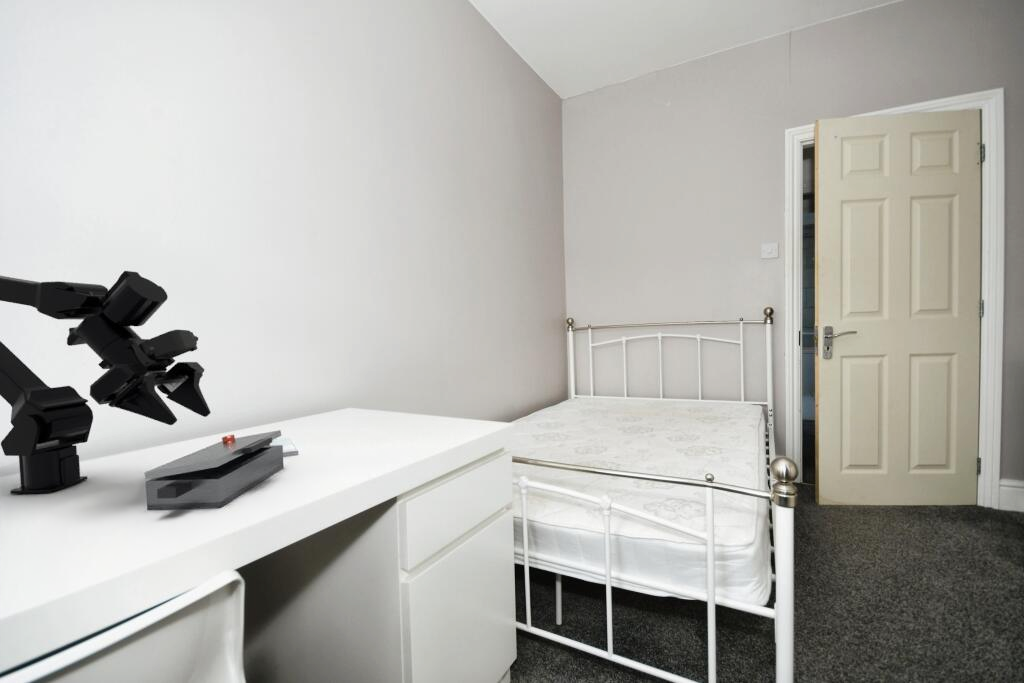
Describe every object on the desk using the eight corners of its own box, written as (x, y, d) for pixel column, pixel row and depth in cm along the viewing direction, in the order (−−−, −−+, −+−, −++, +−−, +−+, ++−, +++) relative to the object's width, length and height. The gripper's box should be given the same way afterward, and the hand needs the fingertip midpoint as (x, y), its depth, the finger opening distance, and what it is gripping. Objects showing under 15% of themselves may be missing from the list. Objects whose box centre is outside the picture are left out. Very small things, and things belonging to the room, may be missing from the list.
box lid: (145, 479, 64) (142, 465, 64) (225, 445, 82) (223, 434, 82) (228, 464, 64) (225, 450, 64) (289, 434, 82) (287, 423, 82)
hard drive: (246, 443, 97) (250, 456, 86) (289, 437, 101) (298, 449, 91) (246, 451, 97) (250, 465, 86) (290, 445, 101) (298, 457, 91)
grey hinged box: (129, 518, 61) (127, 488, 61) (236, 464, 85) (235, 442, 85) (206, 516, 61) (204, 486, 61) (291, 462, 85) (290, 440, 85)
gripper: (117, 305, 64) (199, 387, 65) (194, 316, 83) (257, 380, 84) (51, 361, 63) (135, 443, 64) (144, 359, 82) (208, 423, 83)
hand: (192, 418), depth 74 cm, fingers open, 9 cm apart
